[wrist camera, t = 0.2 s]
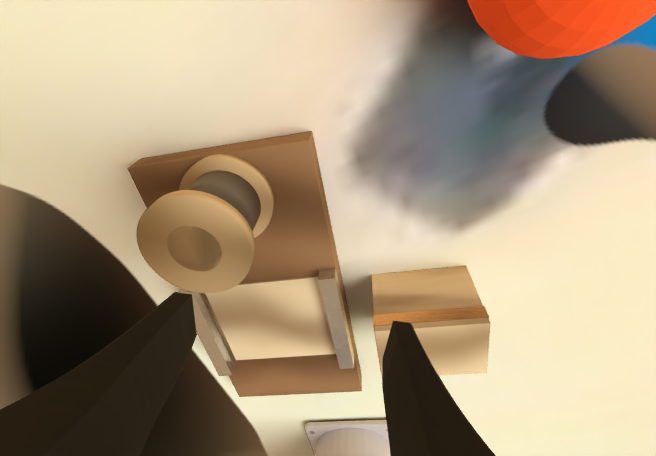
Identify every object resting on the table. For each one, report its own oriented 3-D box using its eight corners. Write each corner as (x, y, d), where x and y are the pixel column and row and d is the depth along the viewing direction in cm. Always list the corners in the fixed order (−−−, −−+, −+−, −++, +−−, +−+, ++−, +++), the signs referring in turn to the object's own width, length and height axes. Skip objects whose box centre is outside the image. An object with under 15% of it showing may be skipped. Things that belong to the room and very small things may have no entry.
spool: (284, 230, 21) (264, 288, 16) (203, 240, 22) (164, 297, 17) (260, 147, 18) (230, 189, 14) (170, 161, 19) (115, 205, 15)
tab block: (465, 311, 25) (487, 373, 21) (377, 318, 26) (381, 378, 22) (466, 264, 23) (491, 322, 19) (370, 273, 24) (373, 330, 20)
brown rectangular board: (361, 374, 29) (361, 403, 27) (244, 380, 31) (235, 408, 29) (311, 131, 19) (306, 146, 17) (141, 158, 21) (117, 175, 19)
